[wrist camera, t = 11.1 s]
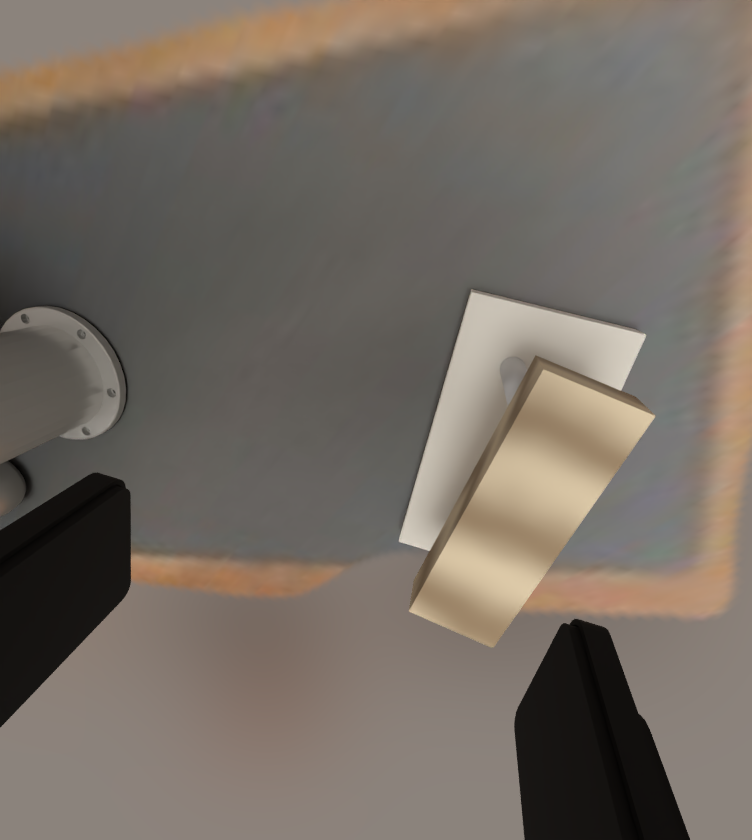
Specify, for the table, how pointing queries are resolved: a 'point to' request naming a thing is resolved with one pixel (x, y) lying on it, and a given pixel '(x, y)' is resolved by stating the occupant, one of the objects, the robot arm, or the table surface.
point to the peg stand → (501, 390)
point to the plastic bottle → (10, 487)
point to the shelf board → (526, 498)
